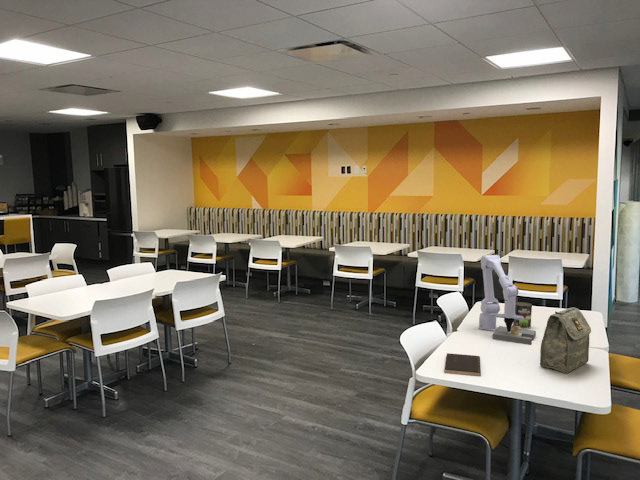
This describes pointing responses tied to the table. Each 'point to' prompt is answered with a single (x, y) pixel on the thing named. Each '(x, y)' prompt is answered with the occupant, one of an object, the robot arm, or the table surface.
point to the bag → (565, 341)
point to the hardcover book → (463, 364)
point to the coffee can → (523, 315)
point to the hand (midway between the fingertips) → (508, 331)
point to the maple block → (515, 330)
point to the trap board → (523, 337)
